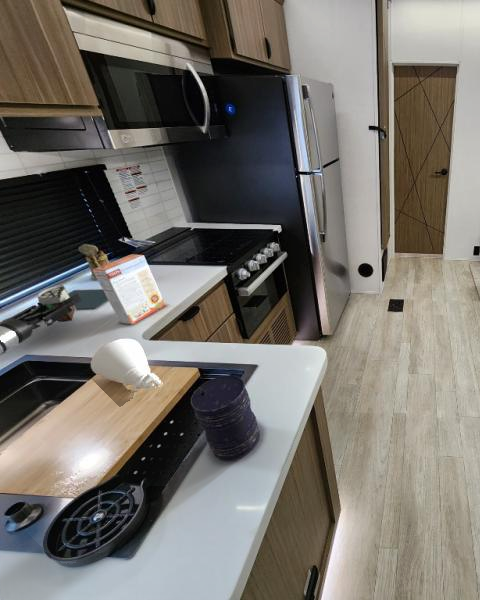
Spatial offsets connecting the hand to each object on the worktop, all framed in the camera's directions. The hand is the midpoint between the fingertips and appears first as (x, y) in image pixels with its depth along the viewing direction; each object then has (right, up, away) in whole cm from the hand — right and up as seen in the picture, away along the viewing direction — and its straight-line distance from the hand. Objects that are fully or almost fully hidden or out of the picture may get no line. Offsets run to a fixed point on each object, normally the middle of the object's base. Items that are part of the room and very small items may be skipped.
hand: (70, 297), depth 117 cm
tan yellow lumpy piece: (-16, +9, +32) cm, 37 cm away
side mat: (-8, -1, +14) cm, 16 cm away
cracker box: (+23, -6, +4) cm, 24 cm away
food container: (-3, -7, 0) cm, 8 cm away
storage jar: (+81, -32, -44) cm, 98 cm away
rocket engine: (+46, -24, -29) cm, 59 cm away
